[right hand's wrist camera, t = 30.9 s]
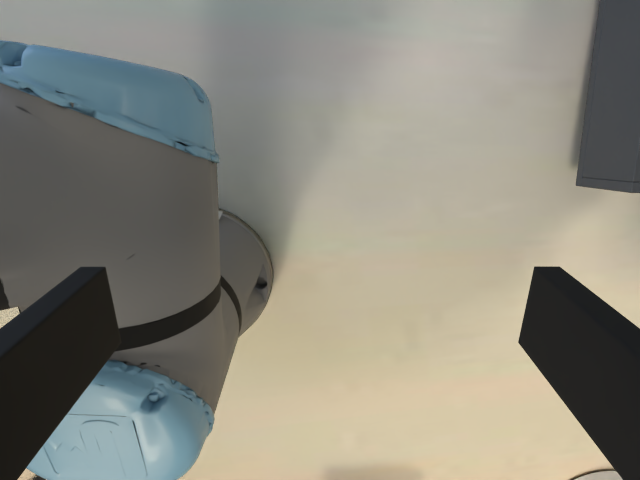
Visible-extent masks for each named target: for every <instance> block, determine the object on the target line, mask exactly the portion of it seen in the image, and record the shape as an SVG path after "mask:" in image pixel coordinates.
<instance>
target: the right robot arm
mask: <svg viewBox="0 0 640 480" xmlns="http://www.w3.org/2000/svg"><path fill="white" fill-rule="evenodd" d="M217 163H219V156H218V154H217V153H216V152H215V144H214V133H213V122H212V112H211V105H210V102H209V99H208V97H207V95H206V93H205V92H204V90H203V89H202V88H201V87H200V86H199V85H198V84H197V83H196V82H194V81H193V80H191V79H190V78H188V77H186V76H183V75H180V74H177V73H174V72H170V71H166V70H162V69H158V68H154V67H149V66H145V65H140V64H136V63H131V62H126V61H121V60H116V59H111V58H106V57H101V56H96V55H91V54H85V53H80V52H75V51H69V50H64V49H58V48H52V47H46V46H39V45H27V44H24V43H18V42H11V41H3V40H0V310H4V309H9V308H14V307H18V308H19V312H20V314H19V315H17V316H16V317H15V318H14V319H12V320H11V321H10V322H8V323H7V324H6V325H5V326H3V327H2V328H1V329H0V480H17V479H18V478H19V477H20V475H21V474H22V473H23V471H24V470H25V469H26V468H27V469H28V470H30V471H32V472H33V473H35V474H36V475H38V477H37V478H36V479H35V480H46V479H47V480H177V479H178V478H180V477H182V476H183V475H184V474H185V473H186V472H187V471H188V470H189V469H190V468H191V467H192V466H193V464H194V463H195V461H196V460H197V458H198V456H199V454H200V451H201V449H202V446H203V444H204V441H205V439H206V437H207V436H208V435H209V433H210V432H211V431H212V427H213V424H214V413H215V410H216V407H217V404H218V400H219V397H220V394H221V391H222V388H223V384H224V381H225V378H226V375H227V372H228V369H229V365H230V362H231V359H232V356H233V353H234V349H235V346H236V343H237V340H238V337H240V336H241V335H242V334H243V333H244V332H245V331H246V330H247V329H248V328H249V327H250V326H251V325H252V324H253V323H254V322H255V321H256V320H257V319H258V317H259V316H260V315H261V313H262V311H263V310H264V308H265V306H266V304H267V301H268V299H269V296H270V291H271V287H272V281H273V270H272V264H271V259H270V256H269V253H268V251H267V249H266V247H265V245H264V243H263V242H262V240H261V239H260V237H259V236H258V235H257V234H256V232H255V231H254V230H253V229H252V228H251V227H250V226H249V225H247V224H246V223H245V222H244V221H242V220H241V219H239V218H238V217H236V216H234V215H233V214H231V213H229V212H226V211H224V210H221V209H218V184H217ZM519 344H520V345H521V346H522V348H523V349H524V350H525V352H526V353H527V354H528V356H529V357H530V358H531V360H532V361H533V362H534V364H535V365H536V366H537V367H538V369H539V370H540V371H541V373H542V374H543V375H544V377H545V378H546V379H547V381H548V382H549V383H550V385H551V386H552V387H553V389H554V390H555V391H556V392H557V394H558V395H559V396H560V398H561V399H562V400H563V402H564V403H565V404H566V406H567V407H568V408H569V410H570V411H571V412H572V413H573V415H574V416H575V417H576V419H577V420H578V421H579V423H580V424H581V425H582V427H583V428H584V429H585V431H586V432H587V433H588V435H589V436H590V437H591V438H592V440H593V441H594V442H595V444H596V445H597V446H598V448H599V449H600V450H601V452H602V453H603V454H604V456H605V457H606V458H607V460H608V461H609V462H610V463H611V465H612V466H613V467H614V469H615V470H616V471H617V473H618V474H619V475H620V477H621V478H622V479H623V480H640V329H639V328H638V327H637V326H635V325H634V324H633V323H632V322H630V321H629V320H628V319H626V318H625V317H624V316H623V315H621V314H620V313H619V312H617V311H616V310H615V309H613V308H612V307H611V306H610V305H608V304H607V303H606V302H604V301H603V300H602V299H601V298H599V297H598V296H597V295H595V294H594V293H593V292H592V291H590V290H589V289H588V288H586V287H585V286H584V285H582V284H581V283H580V282H579V281H577V280H576V279H575V278H573V277H572V276H571V275H570V274H568V273H567V272H566V271H564V270H563V269H562V268H560V267H534V271H533V276H532V281H531V285H530V290H529V295H528V299H527V304H526V309H525V314H524V318H523V323H522V328H521V332H520V337H519Z"/></svg>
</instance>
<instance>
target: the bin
mask: <svg viewBox="0 0 640 480" xmlns="http://www.w3.org/2000/svg"><path fill="white" fill-rule="evenodd" d="M576 186H582V187H590V188H597V189H605V190H613V191H621V192H629V193H640V0H600V4H599V12H598V20H597V27H596V35H595V42H594V50H593V58H592V65H591V73H590V80H589V88H588V96H587V103H586V111H585V118H584V126H583V134H582V141H581V149H580V156H579V164H578V172H577V179H576Z"/></svg>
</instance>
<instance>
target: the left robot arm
mask: <svg viewBox="0 0 640 480" xmlns="http://www.w3.org/2000/svg"><path fill="white" fill-rule="evenodd" d="M574 480H623V479H622V478H621V477H620V475H619V474H618V473H617V471H601V472H595V473H591V474H587V475H584V476H581V477H579V478H577V479H574Z"/></svg>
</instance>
